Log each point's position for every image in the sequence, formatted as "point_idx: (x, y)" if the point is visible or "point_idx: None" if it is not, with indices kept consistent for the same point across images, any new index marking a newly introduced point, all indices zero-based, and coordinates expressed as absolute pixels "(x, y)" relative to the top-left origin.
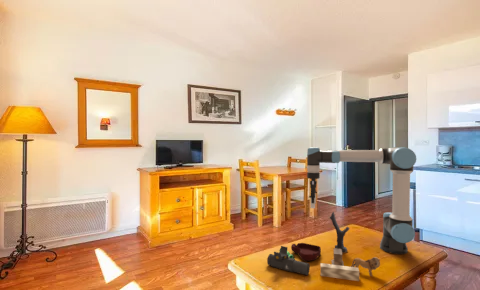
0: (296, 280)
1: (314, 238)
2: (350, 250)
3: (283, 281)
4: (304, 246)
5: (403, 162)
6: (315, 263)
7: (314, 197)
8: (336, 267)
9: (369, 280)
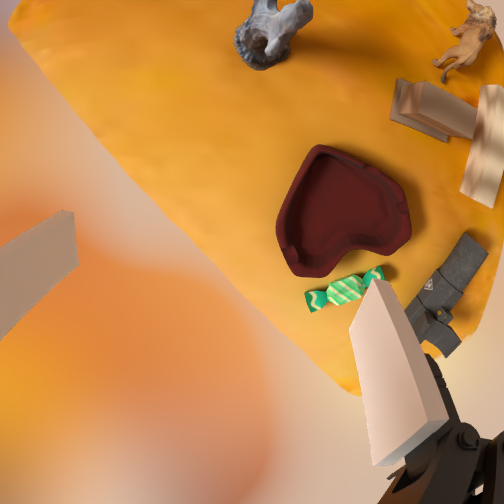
0: (481, 270)
1: (124, 144)
2: None
3: (476, 299)
4: (289, 216)
5: None
6: (404, 189)
7: (468, 432)
8: (501, 157)
9: (490, 65)
